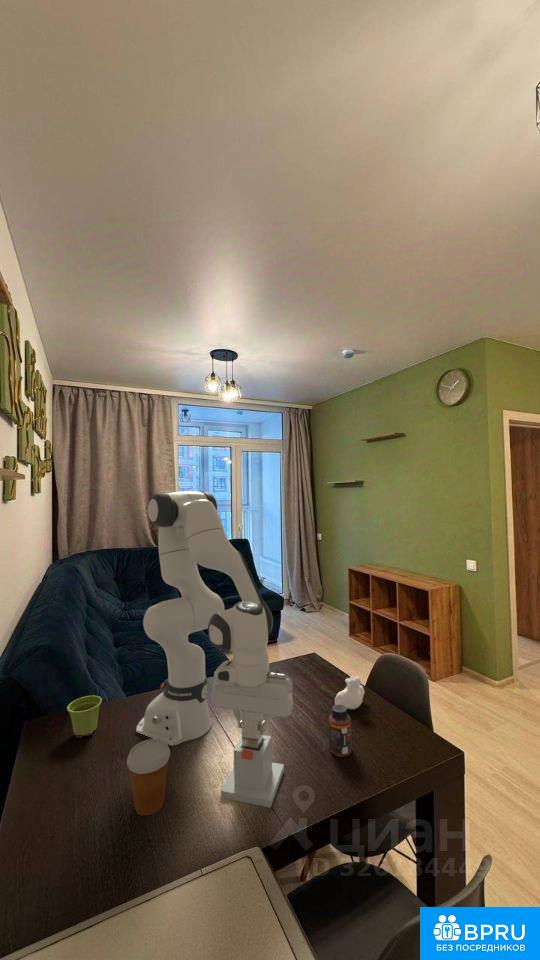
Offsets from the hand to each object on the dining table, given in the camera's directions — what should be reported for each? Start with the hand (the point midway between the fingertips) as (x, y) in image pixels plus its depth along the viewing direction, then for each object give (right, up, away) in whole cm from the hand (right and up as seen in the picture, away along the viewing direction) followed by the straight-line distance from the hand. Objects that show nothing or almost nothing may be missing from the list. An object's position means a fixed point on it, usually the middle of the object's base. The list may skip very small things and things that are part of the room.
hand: (252, 728), depth 94 cm
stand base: (0, -13, -1) cm, 13 cm away
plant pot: (-51, -16, +22) cm, 58 cm away
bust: (+31, -14, +32) cm, 47 cm away
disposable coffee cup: (-23, -14, -6) cm, 28 cm away
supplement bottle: (+23, -13, +10) cm, 29 cm away
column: (0, -11, 0) cm, 11 cm away
